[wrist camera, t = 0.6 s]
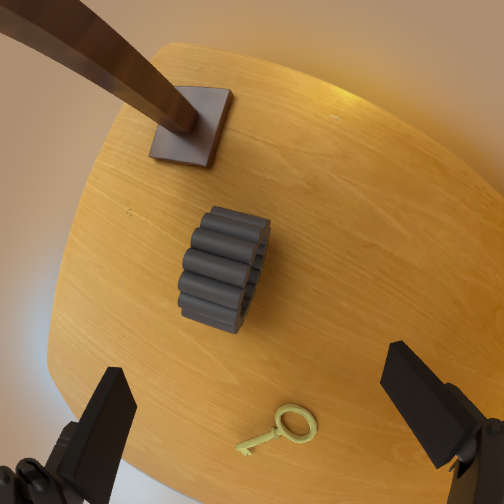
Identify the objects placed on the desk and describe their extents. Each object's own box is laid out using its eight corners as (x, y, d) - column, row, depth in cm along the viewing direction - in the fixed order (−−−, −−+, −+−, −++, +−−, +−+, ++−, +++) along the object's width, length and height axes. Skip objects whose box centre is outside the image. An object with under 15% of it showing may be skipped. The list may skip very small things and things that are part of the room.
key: (234, 440, 34) (231, 449, 32) (289, 397, 32) (289, 406, 29) (271, 461, 33) (269, 471, 31) (328, 421, 31) (329, 431, 29)
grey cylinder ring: (274, 221, 30) (260, 217, 19) (249, 313, 31) (225, 353, 21) (231, 210, 31) (196, 201, 20) (209, 300, 32) (168, 332, 21)
